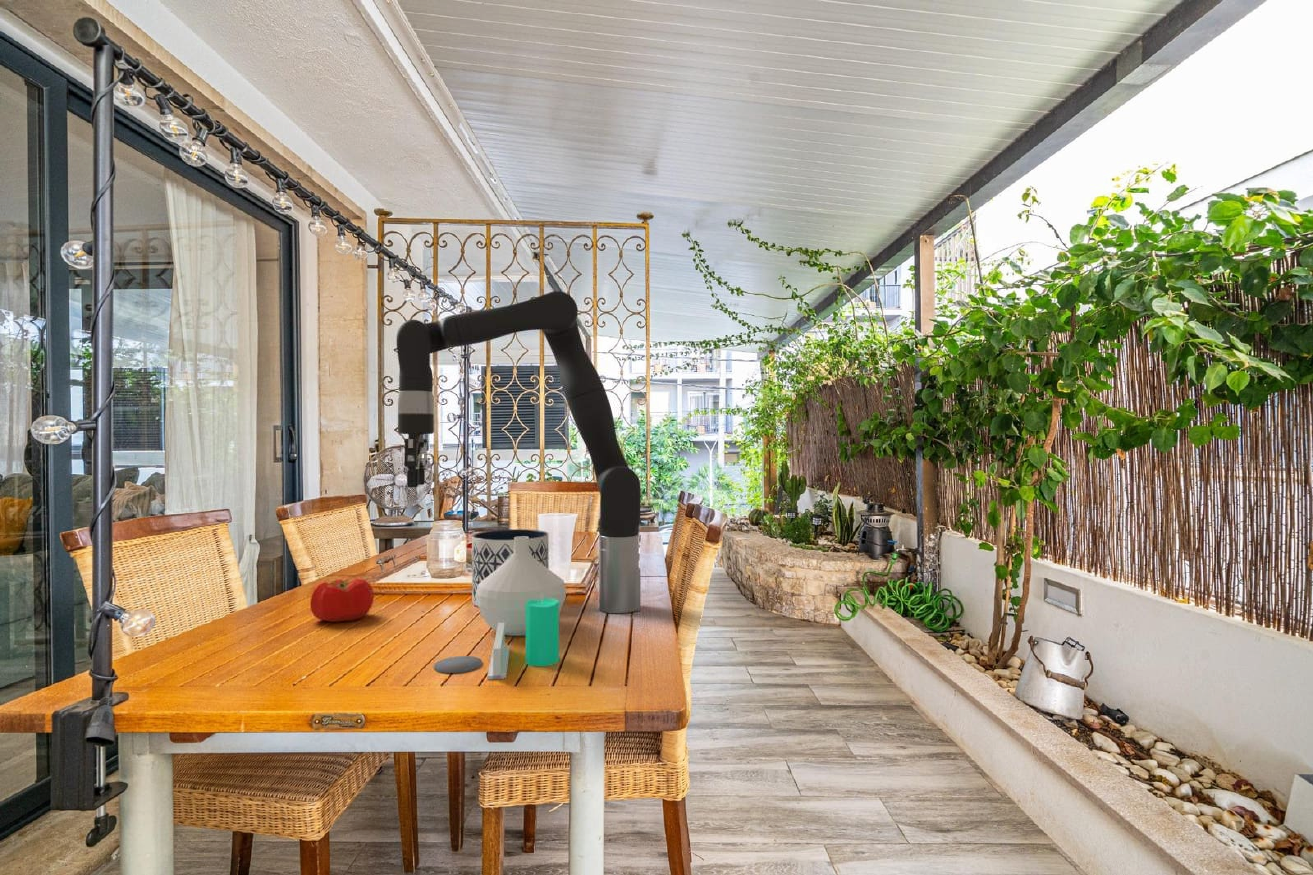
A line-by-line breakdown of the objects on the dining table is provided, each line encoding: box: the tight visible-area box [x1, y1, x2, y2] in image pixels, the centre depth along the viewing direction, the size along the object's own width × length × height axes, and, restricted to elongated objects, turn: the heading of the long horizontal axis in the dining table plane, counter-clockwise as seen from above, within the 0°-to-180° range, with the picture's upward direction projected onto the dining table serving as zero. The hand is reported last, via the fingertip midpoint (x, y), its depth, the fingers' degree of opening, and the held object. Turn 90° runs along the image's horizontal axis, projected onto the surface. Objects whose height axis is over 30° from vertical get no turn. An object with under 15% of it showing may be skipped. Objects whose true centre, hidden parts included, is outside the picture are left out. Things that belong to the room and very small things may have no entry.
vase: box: [476, 536, 567, 637], centre depth 141 cm, size 18×18×19 cm
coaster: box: [433, 655, 483, 675], centre depth 118 cm, size 8×8×1 cm
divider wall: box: [487, 623, 510, 680], centre depth 120 cm, size 3×16×5 cm, turn 10°
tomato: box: [309, 578, 375, 623], centre depth 150 cm, size 13×12×8 cm
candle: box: [525, 593, 560, 667], centre depth 121 cm, size 6×6×12 cm
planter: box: [471, 529, 550, 607], centre depth 165 cm, size 18×18×16 cm
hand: (416, 485), depth 149 cm, fingers open, 8 cm apart
